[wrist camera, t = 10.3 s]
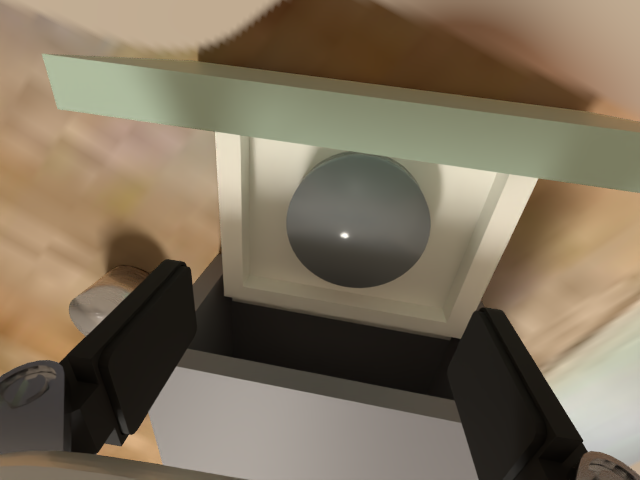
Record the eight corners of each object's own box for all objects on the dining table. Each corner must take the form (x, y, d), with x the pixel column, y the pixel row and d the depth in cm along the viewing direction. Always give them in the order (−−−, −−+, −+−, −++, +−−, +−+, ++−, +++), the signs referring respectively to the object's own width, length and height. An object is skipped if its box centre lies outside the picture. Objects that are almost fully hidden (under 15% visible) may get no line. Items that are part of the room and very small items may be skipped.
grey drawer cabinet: (218, 253, 22) (133, 357, 14) (480, 298, 20) (549, 440, 13) (226, 381, 29) (172, 499, 21) (422, 420, 27) (444, 561, 20)
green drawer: (193, 60, 16) (42, 53, 8) (585, 111, 14) (805, 154, 7) (211, 279, 23) (135, 379, 15) (478, 326, 21) (535, 461, 14)
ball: (113, 310, 26) (80, 342, 23) (99, 260, 24) (59, 289, 21) (170, 321, 26) (143, 354, 23) (162, 271, 23) (130, 302, 20)
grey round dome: (298, 140, 15) (291, 147, 14) (443, 162, 15) (451, 172, 13) (288, 260, 19) (281, 275, 17) (405, 281, 18) (408, 298, 17)
